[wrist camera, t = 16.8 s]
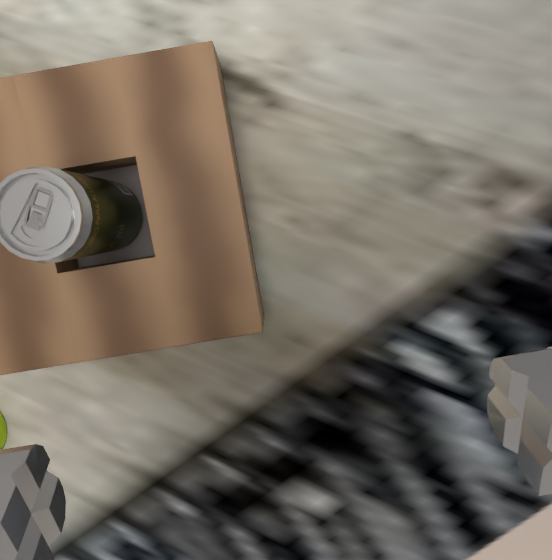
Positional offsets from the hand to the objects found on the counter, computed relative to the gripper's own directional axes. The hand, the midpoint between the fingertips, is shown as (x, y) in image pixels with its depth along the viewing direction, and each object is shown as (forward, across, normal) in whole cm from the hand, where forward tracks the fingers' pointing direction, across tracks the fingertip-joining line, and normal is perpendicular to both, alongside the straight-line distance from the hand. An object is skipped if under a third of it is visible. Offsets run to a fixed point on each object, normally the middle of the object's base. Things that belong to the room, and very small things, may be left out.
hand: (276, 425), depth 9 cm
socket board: (+32, -9, -6) cm, 34 cm away
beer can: (+32, -10, -6) cm, 33 cm away
